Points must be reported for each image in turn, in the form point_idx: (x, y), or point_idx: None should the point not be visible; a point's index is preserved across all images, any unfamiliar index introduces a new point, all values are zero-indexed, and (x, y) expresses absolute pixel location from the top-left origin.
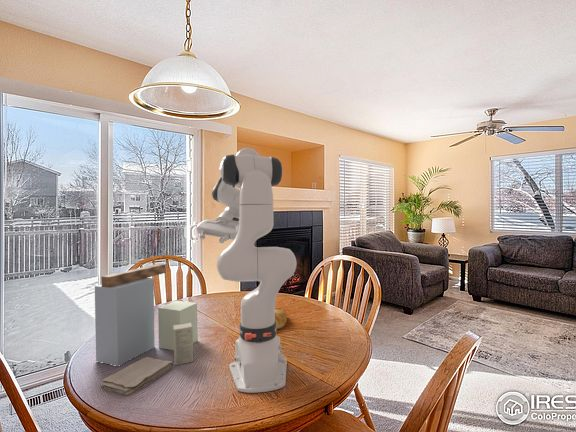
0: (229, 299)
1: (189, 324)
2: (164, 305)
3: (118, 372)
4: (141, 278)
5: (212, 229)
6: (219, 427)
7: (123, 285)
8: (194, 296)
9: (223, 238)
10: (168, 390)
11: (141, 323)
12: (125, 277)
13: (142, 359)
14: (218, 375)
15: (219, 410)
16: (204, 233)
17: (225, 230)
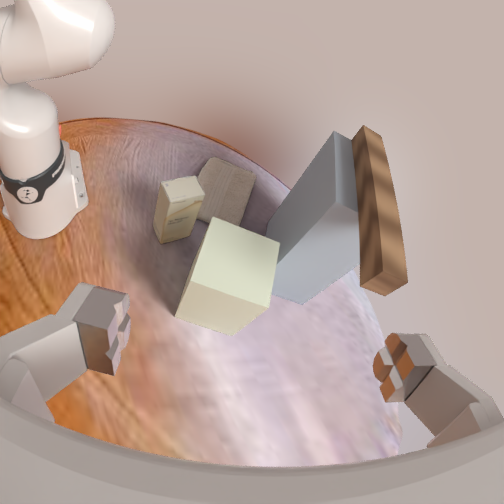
0: None
1: (170, 192)
2: (276, 261)
3: (247, 186)
4: (358, 196)
5: (410, 467)
6: (100, 117)
7: (341, 147)
8: None
9: (63, 306)
10: (165, 163)
11: (285, 230)
12: (362, 154)
13: (237, 216)
14: (104, 186)
15: (100, 132)
16: (444, 429)
17: (6, 471)
